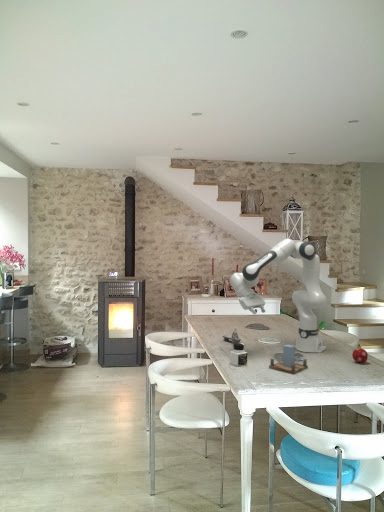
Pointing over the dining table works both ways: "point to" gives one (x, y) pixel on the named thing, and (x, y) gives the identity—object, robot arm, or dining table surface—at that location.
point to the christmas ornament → (360, 355)
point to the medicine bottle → (238, 355)
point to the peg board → (292, 370)
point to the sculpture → (233, 337)
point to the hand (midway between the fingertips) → (259, 312)
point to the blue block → (288, 355)
